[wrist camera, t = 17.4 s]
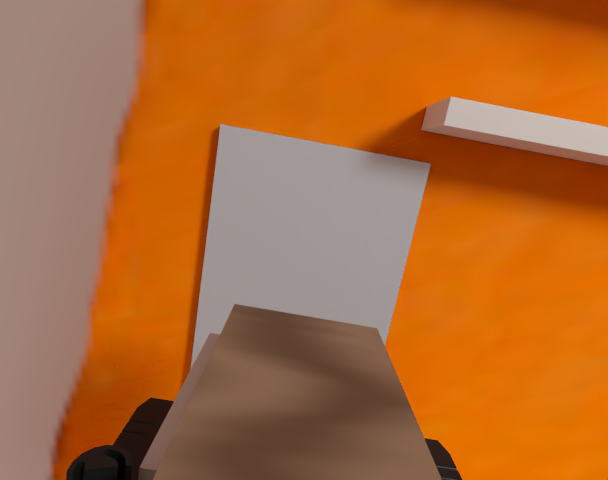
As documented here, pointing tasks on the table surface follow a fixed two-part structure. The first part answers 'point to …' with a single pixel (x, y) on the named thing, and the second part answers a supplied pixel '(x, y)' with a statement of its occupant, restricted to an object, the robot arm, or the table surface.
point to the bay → (518, 129)
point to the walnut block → (297, 406)
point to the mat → (306, 230)
